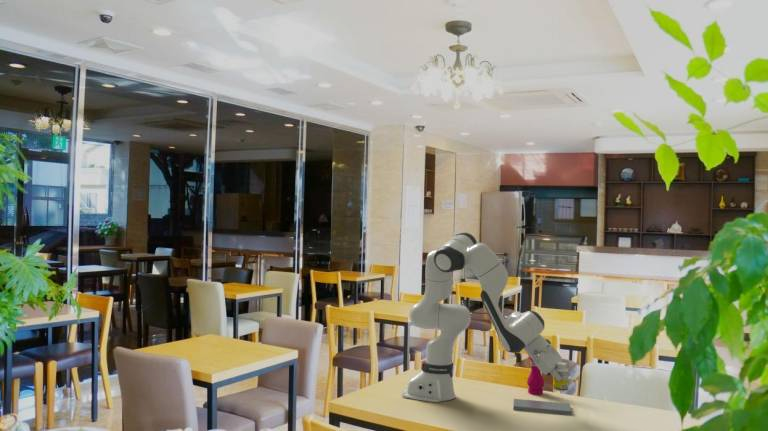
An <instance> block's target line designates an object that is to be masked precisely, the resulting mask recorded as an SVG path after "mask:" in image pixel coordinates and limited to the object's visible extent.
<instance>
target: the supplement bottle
mask: <svg viewBox="0 0 768 431" xmlns="http://www.w3.org/2000/svg"><path fill="white" fill-rule="evenodd" d="M567 367H568V364H567V363H566V362H563V361H561V362H556V367H554V369H555V370H556V372H557V373H558V374H560V375H561V376H562V379H561V380H559V381H558V380H557V379H556V378H555V377H554V376H553V390H554V391H557V392H561V393H563V392H568V391H569V386H570V385H569V382H570V378H569V376H570V370H569V369H568V368H567Z"/></svg>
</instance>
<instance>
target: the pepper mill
mask: <svg viewBox="0 0 768 431" xmlns="http://www.w3.org/2000/svg"><path fill="white" fill-rule="evenodd" d="M528 358H529V359H530V363H529V365H530V367H531V368H530V369H531V370H530V373H529V376H528V377H527V382H526V383H527V384H526V385H527V386H528V388H527V393H528V394H529V395H534V396H541V395H544V394H543V393H544V390H543V389H544V388H543V387H544V386H545V381H544V378H543V375H542V372H541V371H540V370H539V368H538V367H537V366H536V365H535V363H534V362H533V359H531V357H530V356H529V355H528Z"/></svg>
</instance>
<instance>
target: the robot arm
mask: <svg viewBox="0 0 768 431" xmlns="http://www.w3.org/2000/svg"><path fill="white" fill-rule="evenodd" d="M465 267H468V268H469V269H470V270H471V271H472V272H473V274H474V275H475V277H476V278H477V279H478V282H479V285H480V288H481V292H480V295H479V297H480V299H481V302H482V304H483V307H484V309H485V311H486V314H487V315H488V317H489V320H490V321H491V323H492V325H493V327H494V330H495V332H496V334H497V338H498V340H499V342H500V344H501V346H502V347H503V349H504V350H505V351H506V352H507V353H511V354H517V353H518V354H520V352H521V351H523V350H524V352H525V353H526V354H527V355H528V357H529V356H530V357H531V359H533V362H534V363H535V365H536V366H537V367H538V368H539V370H540V371H541V374H543V375H545V376H546V375H548V374H550V375H551V376H552V377H553V378H554V377H555V378H556V379H557V380H558V381H559V380H561V379H562V376H561V375H560V374H558V373H557V372H556V370H555V369H554V368H555V367H556V362H563V358H562V356H561V355H560V354H559V352H558V351H557V349H556V348H555V347H554V346H553V345H552V342H551V340H549V339H548V338H544V336H542V335H541V334H542V333H543V331H544V330H545V320H544V319H543V317H542V316H541V315H540V314H539V313H538V312H536V311H534V310H527V311H525V312H520V311H518V310H516V311H513V312H511V313H510V314H509V315H508V316H507V317H506V318H504V315H503V313H502V311H501V309H500V306H499V302H500V297H501V295H502V294H503V292H504V290H505V289H506V286H507V284H508V281H509V273H508V270H507V268H506V267H505V265H504V264H503V262H502V261H501V259H500V258H499V257H498V256H497V255H496V253H495V252H494V251H493V250H492V249H491V248H490V247H489V246H488V245H487V244H486V243H483V242H478V241H477V240H476V238H475V237H474V235H472V234H471V233H469V232H459V233H457V234H455V235H454V236H453V237H451V238H449V239H447V241H445V242H444V243H443V244H442V245H441V246H440V247H438V249H433V250H431V251H430V252H428V254H427V256H426V260H425V268H424V269H425V270H424V272H425V273H424V274H425V275H424V276H425V277H424V278H425V280H424V281H425V283H424V284H425V286H424V287H425V288H424V289H425V290H424V292H423V293H424V294H423V296H422V297H421V299H420V300H419V301H418V302H417V303H415V304H414V305H412V306H411V309H410V312H409V319H410V322H411V324H412V325H413V326H414V327H417V328H420V329H423V330H436V331H437V330H439V331H440V332H441V334H440V335H438V336H435V337H433V338H431V339H430V340H429V341H428V342H427V344H426V347H425V348H426V349H425V350H426V352H425V359H423V360H422V361H421V365H420V368H421V369H420V370H419V371H418V372H416V373H415V374H414V375H412V376H411V377H410V379H409V380H408V383H407V387H405V388H404V389H403V390H402V392H401V397H403V398H406V399H411V400H416V401H417V400H419V401H424V402H430V403H440V402H446V401H450V400H453V399H455V398H456V393H455V388H454V380H453V376H454V362H453V356H454V346H455V342H456V340H457V338H458V337H459V335H461V333H463V331H465V330H467V329H468V328H469V326H470V324H471V321H472V315H471V312H470V310H469V308H468V307H467V306H464V305H461V304H457V303H440V302H442V301H445V300H447V299H448V298H449V297H451V295H452V293H453V287H454V286H453V272H456V271H461V270H463V269H464V268H465Z"/></svg>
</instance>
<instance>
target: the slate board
mask: <svg viewBox="0 0 768 431" xmlns="http://www.w3.org/2000/svg"><path fill="white" fill-rule="evenodd" d="M512 407H513V408H512V409H513V411H523V412H534V413H541V414H542V413H543V414H545V413H546V414H554V415H556V414H557V415H563V416H564V415H565V416H573V414H572V413H573V412H572V411H573V410H572V406H571V404H570V403H567V402H558V401H557V402H555V401H544V400H531V399H522V398H521V399H520V398H513V406H512Z"/></svg>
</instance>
